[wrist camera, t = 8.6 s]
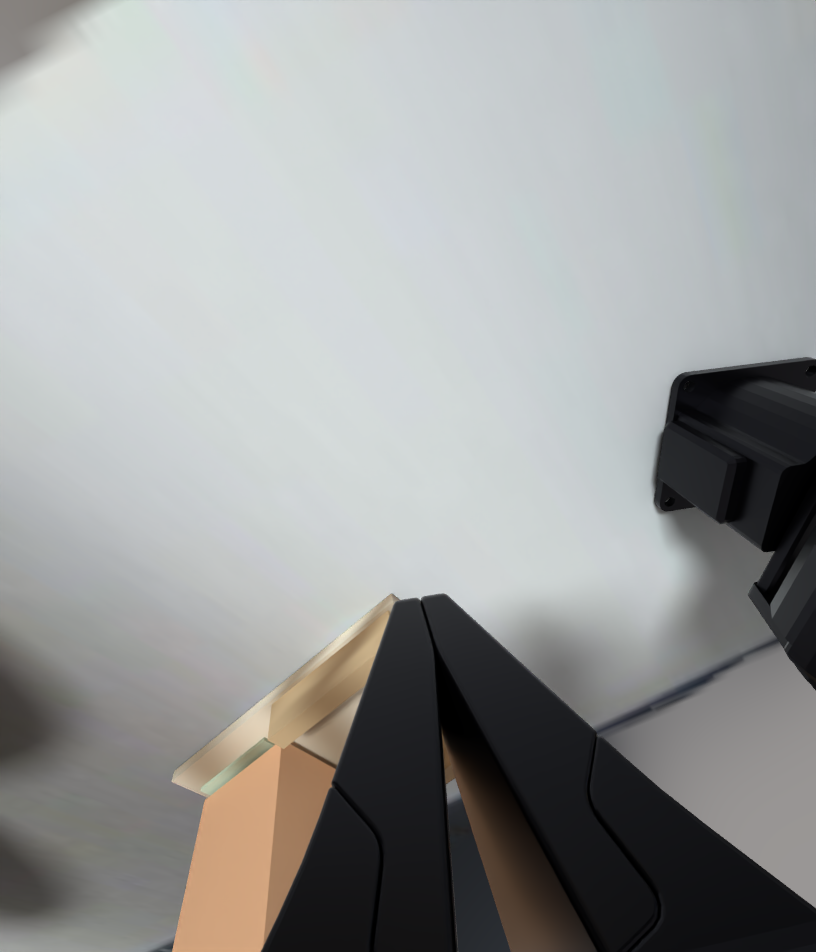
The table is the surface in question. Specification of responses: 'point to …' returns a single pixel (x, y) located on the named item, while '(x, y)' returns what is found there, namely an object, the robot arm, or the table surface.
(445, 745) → the robot arm
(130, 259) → the table surface
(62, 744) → the table surface
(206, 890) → the block
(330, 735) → the board
